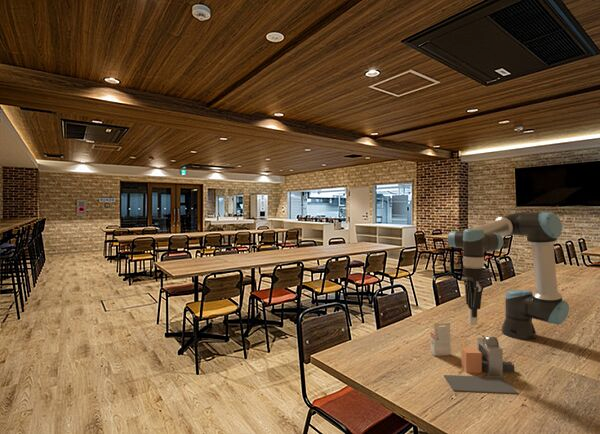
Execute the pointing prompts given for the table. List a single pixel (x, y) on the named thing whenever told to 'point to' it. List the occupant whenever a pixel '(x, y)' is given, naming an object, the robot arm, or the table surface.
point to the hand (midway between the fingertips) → (472, 324)
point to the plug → (478, 361)
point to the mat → (480, 384)
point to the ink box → (441, 340)
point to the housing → (491, 355)
